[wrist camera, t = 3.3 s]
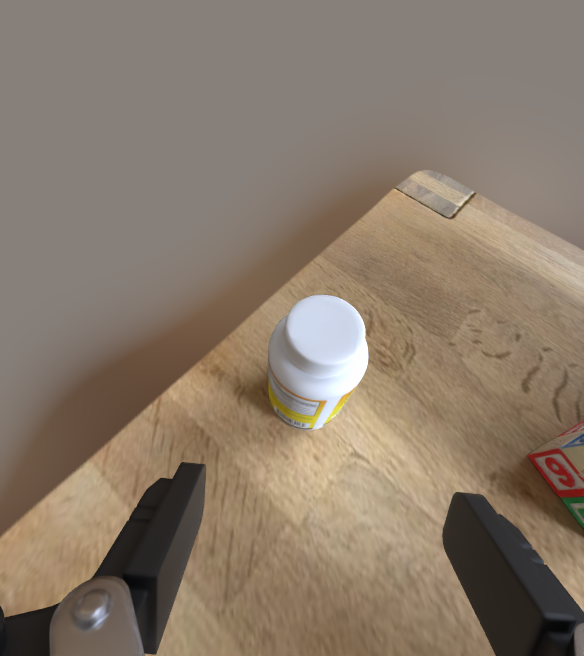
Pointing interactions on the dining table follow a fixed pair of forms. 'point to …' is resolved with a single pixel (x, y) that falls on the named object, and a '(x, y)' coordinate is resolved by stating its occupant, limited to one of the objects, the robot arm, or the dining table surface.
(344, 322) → the supplement bottle
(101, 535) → the dining table surface
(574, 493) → the stack of blocks
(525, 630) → the robot arm
